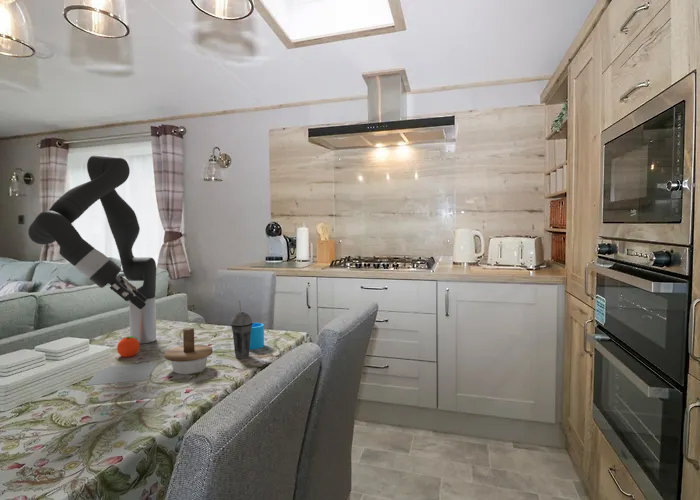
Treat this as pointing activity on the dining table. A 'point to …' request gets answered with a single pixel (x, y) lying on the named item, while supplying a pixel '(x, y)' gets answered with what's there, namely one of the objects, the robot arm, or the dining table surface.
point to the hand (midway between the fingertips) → (144, 304)
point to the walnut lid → (188, 349)
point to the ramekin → (189, 366)
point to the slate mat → (122, 374)
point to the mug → (257, 336)
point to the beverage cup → (241, 333)
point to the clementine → (128, 347)
